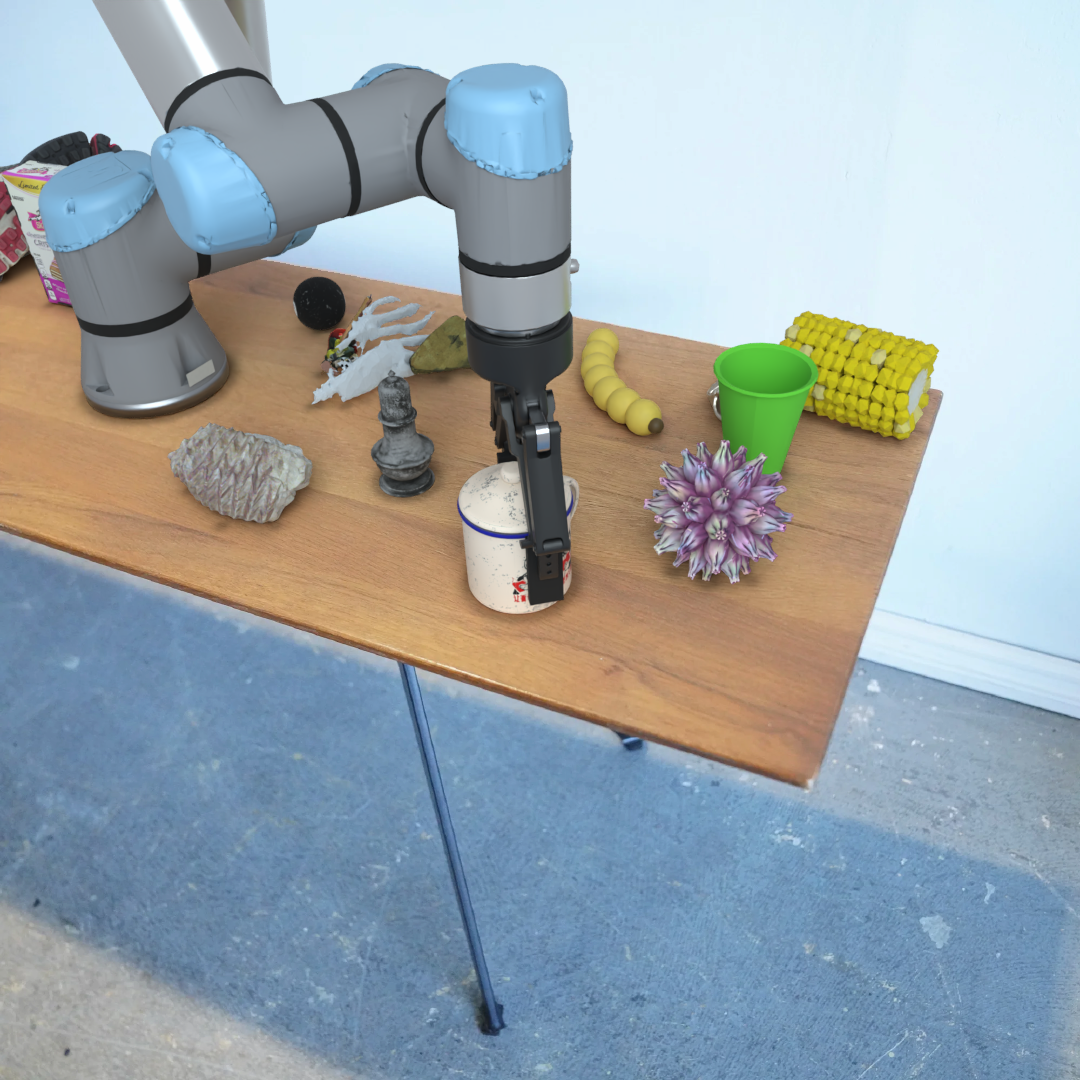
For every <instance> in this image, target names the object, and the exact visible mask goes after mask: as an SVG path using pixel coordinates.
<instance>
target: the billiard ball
mask: <svg viewBox="0 0 1080 1080" xmlns="http://www.w3.org/2000/svg"><path fill="white" fill-rule="evenodd" d="M292 306H293V310H294V313H295V315H296V317H297V319H298V320H299V322H300V323H301V324H302V325H304V326H305V327H306V328H309V329H311V330H314V331H327V330H331V329H333V328H334V327H336V326H337V325H339V324H340V323H341V322H342V320H343V319H344V317H345V315H346V309H347V301H346V297H345V294H344V291H343V290H342V288H341V286H340V285H339V284H338V283H337V282H336V281H334V280H333V279H331V278H328V277H325V276H311V277H308V278H305V280H303V281H301V282H300V283H299V284H298V285H297V286H296V288H295V289H294V292H293V296H292Z"/></svg>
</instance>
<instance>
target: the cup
mask: <svg viewBox="0 0 1080 1080" xmlns="http://www.w3.org/2000/svg"><path fill="white" fill-rule="evenodd" d="M779 344H780V343H779ZM779 344H778V343H772V342H747V343H743V344H738V345H735V346H732V347H729V348H728V349H726V350H724V351H723V352H721V353H720V354H719V355H718V356H717V357H716V358H715V360H714V363H713V365H712V367H713V374H714V375H715V377H716V379H717V380H718V385H719V397H720V409H721V421H720V422H721V430H722V431H721V432H722V440H726V441H728V440H729V442H730V450H731V453H732V455H734V454H735V453H736V452H737V451H738V449H739V447H740V446H742V445H743V446H744V447H745V448H747V453H746V462H748V461H751V460H753V459H755V458H756V457H757V456H758V455H759V454H760V453H763V454H765V456H767V459H766V461H765V462H764V464H763V470H762V474H773V473H775V472H779V474H781V472H782V470H783V467H784V464H785V461H786V458H787V456H788V453H789V450H790V447H791V444H792V442H793V439H794V436H795V433H796V430H797V428H798V424H799V422H800V419H801V416H802V413H803V408H804V405H805V402H806V399H807V396H808V393H809V391H810V388H811V387H812V386H813V385H814V384H815V382H816V381H817V379H818V375H819V374H818V369H817V366H816V364H815V363H814V362H813V360H812V359H811V358H810V357H808V356H807V355H806V354H804V353H802V352H800V351H798V350H796V349H794V348H791V347H788V346H784V345H779Z"/></svg>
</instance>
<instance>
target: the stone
mask: <svg viewBox="0 0 1080 1080" xmlns="http://www.w3.org/2000/svg"><path fill="white" fill-rule="evenodd" d="M465 320H466V319H465V318H463V317H461V316H459V315H452V316H450V317H449V318H447V319H446V320H445V321H444V322H443V323H442V324H440V325H439V326H438V327H436V328H435V329H434V330H433V331H432V332H431V333H429V334H430V335H429V334H428V335H429V336H428V337H427V338H426V339H425V341H424V342H423V343H422V344H421V345H420V346H419V345H418V346H419V347H417V349H415V351H414V354H413V355H412V356H411V357H410V359H409V365H410V368H411V371H412V372H413V374H415V375H430V374H433V373H441V372H452V371H455V370H457V369H463V370H466V369H467V370H468V369H470V370H472V368H471V367H470V364H469V361H468V352H467V341H466V330H465ZM415 375H414V376H415Z"/></svg>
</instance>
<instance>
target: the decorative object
mask: <svg viewBox="0 0 1080 1080" xmlns="http://www.w3.org/2000/svg"><path fill="white" fill-rule="evenodd" d="M395 302H399V303H402V302H401V299H400V298H399V297H396V296H393V295H387V296H384V297H381V298H378V299H376V300H375V301H372V302H371V303H370V305H369V306H368V307H366V308H365V310H363V315H362V317H358V321H353V323H352V330H351V331H350V332H349V336H348V338H346V339H345V340H343V341H342V342H341V343H340V344H339V345H338V346H336V347H335V348H339V350H340V351H341V350H343V349H345V348H347V347H348V345H349V344H350V343H351V341H352V340H354V339H355V340H356V342H357V344H355V346H357V350H358V349H359V348H361V353H360V355H359V356H358V357H356V360H355V361H354V362H351V360H350V359H348V360H349V361H350V362H346V361H345V360H344V362H343V361H341V362H339V363H337V364H338V365H340V366H341V364H343V366H344V367H342V368H341V371H340V374H338V375H337V376H334V375H333V374H334V372H333V369H332V368H330V369H329V373H328V372H326V375H327V377H328V379H327V381H326V382H324V383H322V384H321V385H320V388H318V387H316V389H315V390H313V391H312V393H313V399H314V400H313V401H312V403H311V405H314V404H317V403H318V402H321V401H323V402H324V401H327V400H328V399H332V398H333V396H335V394H338V396H339V397H340V399H341V402H343V403H345V402H346V401H349V400H352V399H354V398H357V397H359V396H361V395H364V394H366V393H369V392H371V391H372V390H374V389H376V388H378V385H379V383H380V382H381V381H382V380H383V379H384V378H386V377H389V376H388V373H389V371H390V370H392V371H394V372H395V375H394V376H399V377H402V378H404V379H405V378H410V377H412V376H415V374H413V372H412V371H411V368H410V365H409V359H410V357H411V356H412V355H413V354H414V352H415V351H414V350H410V349H406V348H405V347H410V348H412V347H417V346H420V345H421V344H422V343H423V342H424V341H425V339H426V338H427V337H428V336H429V335H430V334H431V333H429V334H418V332H419V331H422V330H423V329H424V328H425V327H426V326H427V324H428V322H429V321H430V320H432V316H433V315H434V314H435V313H436V312H437V311H436V310H433V311H431V310H430V311H429V313H428V314H425V316H424V317H423V318H422V319H420V320H417V321H415V322H410V323H405V324H401V323H396V324H393V325H389V326H383V325H386V324H389V323H392V322H394V321H398V320H402V319H404V318H407V317H409V318H412V317H413V316H414V315H416V314H417V313H418V310H420V307H422V305H421V304H419V303H417V302H415V303H413V302H410V303H408V304H406V305H403V306H401V307H399V306H398V307H397V309H393V310H391V311H387V312H384V313H378V314H373V313H374V311H375V310H376V308H378V307H379V306H384V305H385V304H391V303H395ZM398 334H401V335H406V336H403V337H400V338H392V339H389V340H386V339H383V340H382V339H381V340H380V341H379V345H377V346H374V347H373V348H370V349H369V350H367V351H366V352H365V353H364V354H363V351H364V349H365V347H366V345H367V342H368V341H369V340H370V341H371V342H373V341H375V340H377V339H379V338H382V337H389V336H396V335H398ZM415 334H416V335H415ZM358 343H359V345H358ZM342 359H345V357H343V358H342ZM346 364H347V365H348V368H347V367H346V366H345V365H346ZM346 368H347V369H346ZM334 371H336V372H339V370H338V371H337V370H334Z"/></svg>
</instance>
